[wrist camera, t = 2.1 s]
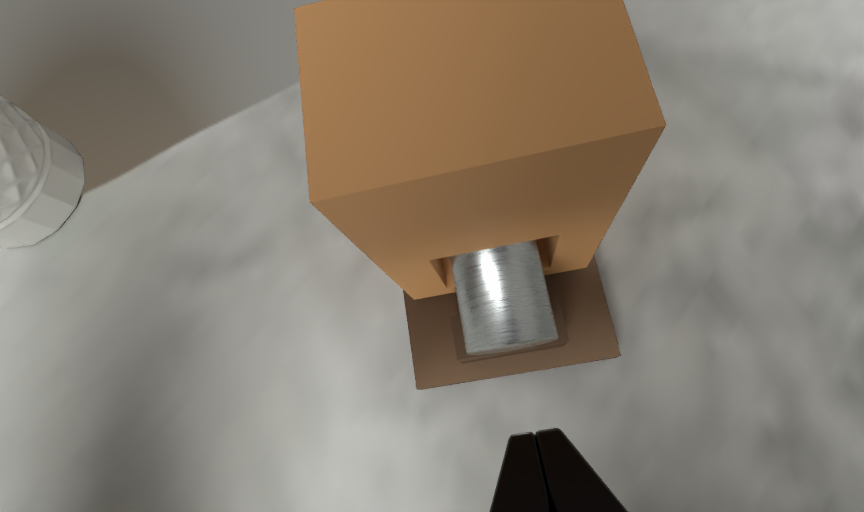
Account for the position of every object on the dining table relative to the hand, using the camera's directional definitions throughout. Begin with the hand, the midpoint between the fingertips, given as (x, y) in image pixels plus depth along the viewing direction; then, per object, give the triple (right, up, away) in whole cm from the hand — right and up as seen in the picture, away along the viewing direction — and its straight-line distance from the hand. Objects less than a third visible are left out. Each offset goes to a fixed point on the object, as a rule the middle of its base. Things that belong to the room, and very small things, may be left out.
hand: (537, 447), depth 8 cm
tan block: (0, +4, +12) cm, 13 cm away
